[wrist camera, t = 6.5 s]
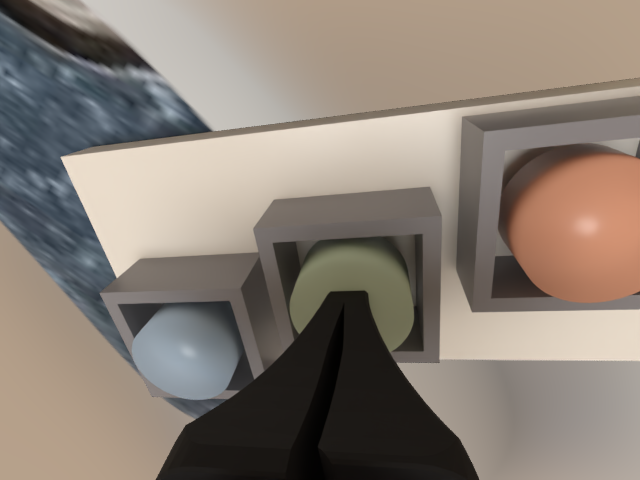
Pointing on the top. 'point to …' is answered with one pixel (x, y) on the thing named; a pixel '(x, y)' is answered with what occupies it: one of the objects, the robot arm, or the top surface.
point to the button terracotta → (576, 222)
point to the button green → (357, 283)
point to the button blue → (190, 348)
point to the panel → (357, 222)
